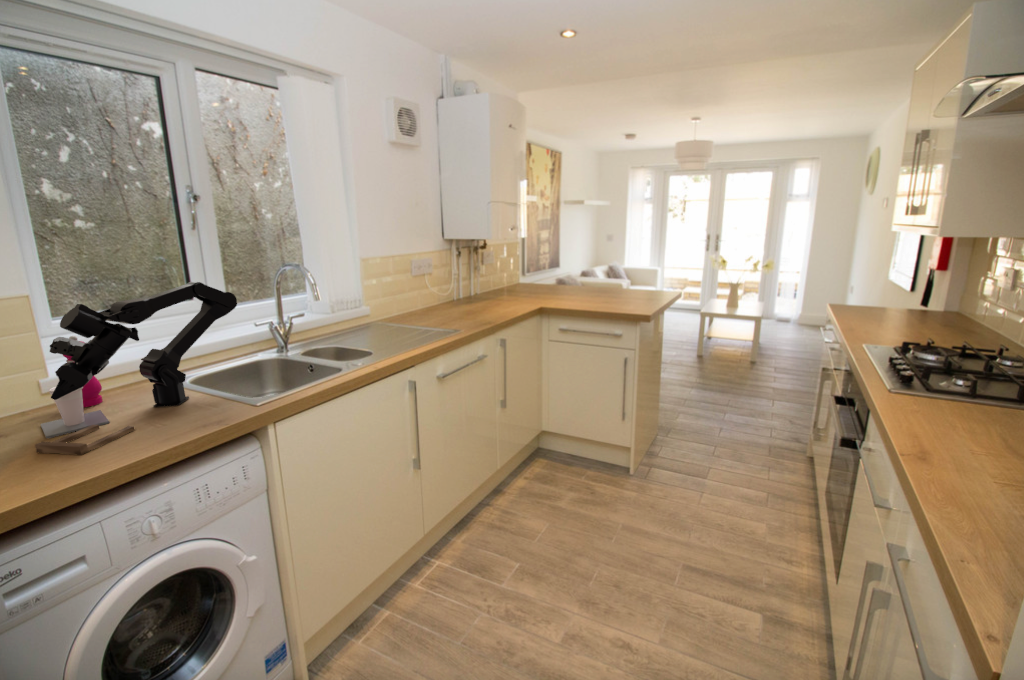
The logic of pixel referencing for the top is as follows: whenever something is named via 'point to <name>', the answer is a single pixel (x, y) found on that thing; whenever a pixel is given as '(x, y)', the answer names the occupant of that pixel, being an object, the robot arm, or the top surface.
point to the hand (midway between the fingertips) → (60, 393)
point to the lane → (79, 448)
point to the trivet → (60, 428)
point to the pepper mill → (89, 387)
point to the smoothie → (70, 407)
